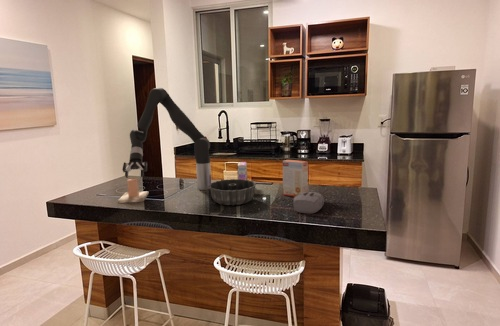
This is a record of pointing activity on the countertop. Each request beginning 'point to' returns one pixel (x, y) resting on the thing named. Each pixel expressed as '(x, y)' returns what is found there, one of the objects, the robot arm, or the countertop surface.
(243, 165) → the candy box
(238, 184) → the bundt pan
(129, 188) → the terracotta block
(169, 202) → the countertop surface
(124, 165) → the robot arm
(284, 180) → the cracker box
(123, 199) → the birch board
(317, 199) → the soft grey pack
